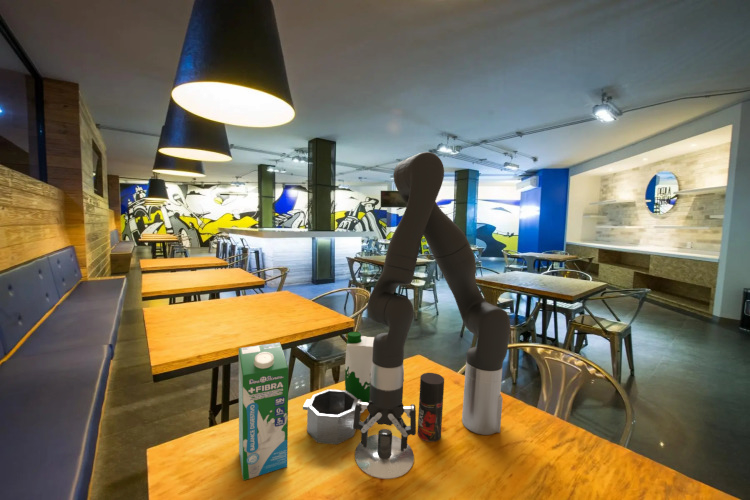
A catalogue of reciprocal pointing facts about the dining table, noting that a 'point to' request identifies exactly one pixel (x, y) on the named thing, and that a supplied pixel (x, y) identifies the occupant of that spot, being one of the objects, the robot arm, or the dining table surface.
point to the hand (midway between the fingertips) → (383, 447)
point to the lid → (384, 456)
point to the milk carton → (263, 409)
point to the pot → (331, 416)
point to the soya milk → (358, 365)
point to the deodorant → (430, 407)
